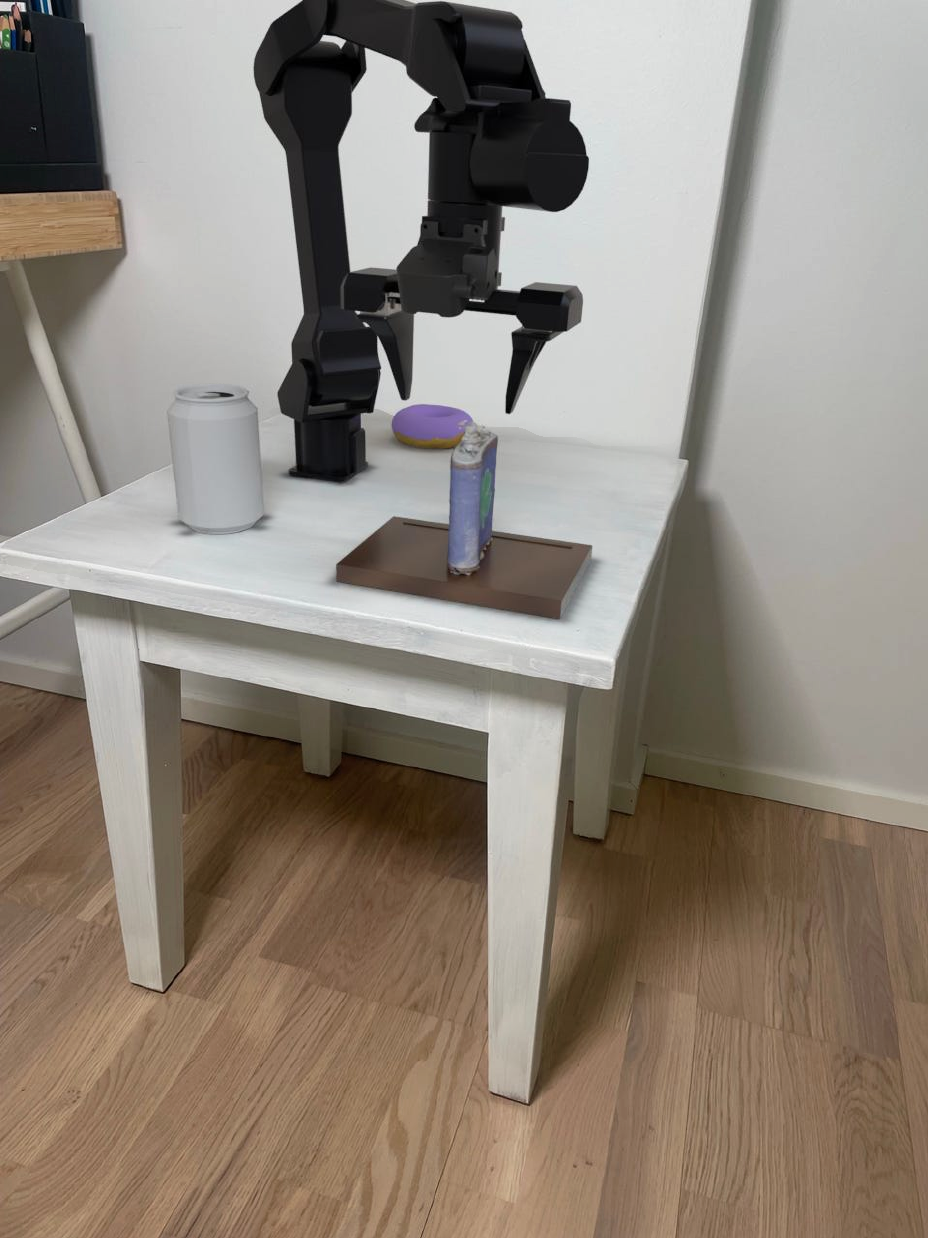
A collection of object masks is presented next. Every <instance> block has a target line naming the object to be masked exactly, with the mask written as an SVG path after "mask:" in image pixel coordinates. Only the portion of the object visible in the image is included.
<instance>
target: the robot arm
mask: <svg viewBox="0 0 928 1238" xmlns="http://www.w3.org/2000/svg"><path fill="white" fill-rule="evenodd" d="M523 25H524V24H523V22H522V20H521V19H520V18H519V16H518V15H516V14H515V13H513V12H512V11H506V10H500V9H495V8H488V7H482V6H476V5H469V4H463V3H456V2H450V1H444V0H436V1H422V2H412V1H409V0H300V1H299V2H298V3H296V5H294V6H293V7H291V8H290V9H289V10H287V11H285V12H284V13H283V14H282V15H280V16H279V17H277V18H275V20H273V21H272V22H271V23H270V25H269V26H268V28H267V30H266V33H265V35H264V37H263V39H262V41H261V43H260V44H259V47H258V49H257V51H256V53H255V56H254V58H253V79H254V83H255V86H256V89H257V91H258V94H259V99H260V104H261V109H262V115H263V118H264V121H265V123H266V124H267V126H268V127H269V129H270V130H271V132H272V133H273V134H274V137H276V138H277V140H278V142H279V144H280V145H281V147H282V148H283V150H284V152H285V159H286V166H287V175H288V176H287V177H288V184H289V193H290V194H289V195H290V202H291V211H292V212H291V213H292V220H293V227H294V229H293V230H294V236H295V246H296V253H297V262H298V263H297V264H298V271H299V279H300V289H301V297H302V299H301V300H302V306H303V315H302V316H301V320H300V322H299V324H298V326H297V328H296V331H295V333H294V336H293V338H292V340H291V344H290V345H291V346H290V347H291V364H290V366H289V368H288V371H287V372H286V374H285V377H284V378H283V380H282V383H281V385H280V386H279V388H278V390H277V394H276V396H277V401H278V405H279V410H280V413H281V414H282V415H283V416H286V417H287V418H290V419H293V429H294V430H293V431H294V433H293V434H294V449H295V465H294V466H292V467H290V468H289V469H288V475H290V476H297V477H303V478H312V479H319V480H324V481H325V480H326V481H334V482H341V483H343V482H347V481H348V480H349V479H351V478H353V477H355V476H356V475H357V474H360V472H362V471H363V470H365V469H366V468H367V467H369V462H368V461H367V458H366V457H367V455H366V453H367V452H366V451H367V448H366V445H367V444H366V429H365V428H364V427H362V415H363V414H373V413H374V412H375V411H374V410H375V405H376V401H377V395H378V391H379V387H380V382H381V381H380V380H381V370H382V364H381V361H380V356H379V350H378V349H379V348H378V341H380V344H381V346H382V348H383V351H384V353H385V356H386V357H387V361H388V364H389V367H390V370H391V373H392V377H393V380H394V382H395V385H396V388H397V391H398V394H399V397H400V400H401V401H405V402H406V401H408V400H410V397H411V393H412V384H413V374H414V373H413V372H414V371H413V369H414V330H415V328H414V327H415V315H416V314H417V313H424V314H434V315H438V316H439V317H441V318H455V317H458V316H461V315H462V314H463V313H464V312H465V311H467V312H476V313H486V314H494V315H506V316H514V317H516V319H517V320H518V322H519V323H520V324H521V326H520V327H518V328H516V329H514V330H513V331H511V333H510V335H511V346H512V348H511V349H512V352H511V358H510V365H509V371H508V377H507V378H508V379H507V383H506V384H507V385H506V391H505V402H504V403H505V405H504V407H505V409H504V412H505V414H506V415H511V414H512V413H513V412H514V410H515V408H516V407H517V403H518V401H519V399H520V397H521V395H522V392H523V390H524V387H525V386H526V383H527V380H528V378H529V376H530V374H531V371H532V370H533V367H534V365H535V363H536V361H537V359H538V357H539V356H540V354H541V352H542V350H543V349H544V347H545V345H546V343H547V342H551V341H553V340H554V339H555V338H557V337H558V336H560V335H561V334H563V333H565V332H569V331H570V330H571V329H573V328H575V327H577V325H579V324H580V323H582V316H583V308H584V307H583V306H584V295H583V293H582V291H581V290H580V289H579V287H578V285H571V284H560V283H551V282H538V281H535V282H533V283H530V284H528V285H525V286H523V287H520V290H511V289H510V290H509V289H499V288H498V287H501V286H502V274H503V273H502V272H501V271H499V269H500V257H501V256H500V255H501V237H502V232H505V227H506V226H505V224H506V217H505V216H503V207H506V208H515V209H522V210H523V209H524V210H530V211H531V210H532V211H539V212H549V213H558V212H562V211H565V210H566V209H567V208H569V207H570V206H572V205H573V204H574V203H575V202H576V200H577V199H578V198H579V196H580V195H581V194H582V191H583V190H584V188H585V184H586V182H587V178H588V174H589V168H590V157H589V156H588V155H587V147H586V142H585V140H584V137H583V135H582V133H581V131H580V130H579V128H578V127H577V126H576V125H575V123H573V122H572V121H571V112H572V102H571V100H570V99H563V98H562V99H559V98H551V97H546V95H547V94H546V92H545V90H544V88H543V86H542V83H541V80H540V78H539V75H538V71H537V70H536V66H535V64H534V61H533V58H532V55H531V52H530V50H529V47H528V44H527V42H526V40H525V37H524V33H523V31H522V30H523V28H524V26H523ZM324 36H329V37H336V38H339V39H341V40H344V41H345V42H344V43H343V45H342V46H341V47H340V45H339V44H337V43H335V42H333V41H326V40H322V38H324ZM366 49H367V50H370V51H372V52H374V53H378V54H380V55H382V56H384V57H388V58H391V59H393V60H395V61H398V62H400V63H401V64H402V65H404V66H405V73H406V75H407V77H408V78H409V79H410V80H411V81H412V82H414V83H415V84H416V85H417V86H419V87H420V88H421V89H422V90H423V91H425V93H427V94H429V95H430V96H431V97H433V98H432V100H431V102H430V105H429V106H428V107H427V108H426V110H425V111H423V112H422V113H421V114H420V115H419V116H418V117H417V119H416V121H415V122H414V125H413V126H414V130H415V132H416V133H424V134H425V133H426V134H427V133H428V134H429V136H428V137H429V138H428V141H429V142H428V175H427V177H428V178H427V210H426V211H427V213H426V215H422V216H421V223H420V226H419V227H420V229H419V238H418V241H417V244H416V245H415V246H413V247H411V248H410V250H409V251H408V252H407V253H406V255H405V256H404V257H403V258H402V260H401V261H400V262H399V264H397V266H396V269H394V268H393V269H392V268H382V267H371V266H370V267H366V268H362V269H357V270H353V271H351V264H350V263H351V262H350V253H349V242H348V232H347V223H346V213H345V204H344V203H345V202H344V192H343V181H342V172H341V161H340V150H339V149H340V148H339V147H340V143H341V141H342V138H343V136H344V134H345V131H346V129H347V127H348V124H349V123H350V120H351V118H352V115H353V92H354V91H355V89H356V87H357V86H358V85H359V83H360V82H361V80H362V78H363V77H364V76H365V74H366V73H367V69H368V68H367V67H368V66H367V56H366ZM357 312H359V313H357ZM365 324H366V325H368V326H366V325H365ZM378 339H379V340H378Z"/></svg>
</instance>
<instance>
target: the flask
mask: <svg viewBox="0 0 928 1238" xmlns="http://www.w3.org/2000/svg"><path fill="white" fill-rule="evenodd" d="M467 422H468V421H467V420H465V421H462V422H460V423H459V424H458V426H459V427H458V428H459V430H460V429H461V427H462V426H464V424H465V423H467ZM485 428H486V426H485V425H481V426H478V424H477V423H476V421H473V422H470V423H469V424H467V426H465V427H464V430H465V433H464V434H463V437H462V439H461V441H460V442H459V443H458V444H457V445H456V446H455V447H453V450H452V452H451V456H450V464H449V465H450V466H449V470H450V472H449V473H450V474H449V475H450V476H449V497H448V499H449V500H448V501H449V512H448V513H449V515H448V524H449V540H448V555H447V567H448V570H450V572H452V573H454V574H457V575H458V574H460V573H462V574H463V573H464V574H466V575H470V574H471V573H472V572H473V571H476V570H477V569H478V568H479V566H478V565H479V562H480V560H482V558H484V554H483V550H484V549H486V547H485V546H486V545H488V544H489V542H490V541H491V540H492V531H493V520H494V519H493V518H494V503H495V493H496V470H497V469H496V468H497V451H498V445H499V444H498V443H499V436H498V434H495V433H494V432H492V431H491V430H484V429H485ZM454 568H456V569H457V570H458V571H459V572H460V573H459V572H457V571H456V570H455V569H454Z"/></svg>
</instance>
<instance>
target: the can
mask: <svg viewBox="0 0 928 1238" xmlns="http://www.w3.org/2000/svg"><path fill="white" fill-rule="evenodd" d="M249 394H250V391H249V390H248V389H247V388H246V387H244V386H240V385H236V384H229V383H199V384H190V385H186V386H182V387H178V388H177V389H175V390H174V391H173V392H172V395H173V396H174V398H175V399H174V400H173V402H172V403H171V404H170V406H169V407H168V408H167V410H166V414H167V423H168V432H169V443H170V451H171V461H172V470H173V480H174V481H173V482H174V489H175V490H174V491H175V500H176V508H177V517H178V518H179V520H180V521H181V522H182V523H184V524H185V525H186V526H188V527H189V529H191V530H193V531H195V532H198V533H202V534H209V535H227V534H228V535H229V534H235V533H240V532H244V531H246V530H248V529H251V528H252V527H253V526H255V525H256V523H257V521H259V520H260V519H262V517H263V516H264V513H265V508H264V507H265V505H264V503H265V502H264V489H263V475H262V474H263V473H262V472H263V471H262V457H261V443H260V441H261V440H260V428H259V426H260V424H259V409H258V407H257V405H256V404H255V403H254V402H252V401H251V399H249V397H248V396H249Z"/></svg>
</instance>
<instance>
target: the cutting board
mask: <svg viewBox="0 0 928 1238" xmlns="http://www.w3.org/2000/svg"><path fill="white" fill-rule="evenodd" d="M448 540H449V523H442V522H437V521H436V522H435V521H428V520H423V519H422V520H421V519H415V518H409V517H401V516H395V515H394V516H392V517H391V518H390V519H389V520H387V521H386V522H384V523H383V524H382V525H381V526H380V527H379V528H378V529H377V530H375V531H374V532H373V533H371V534H370V535H369V536H368V537H367V538H366V539H365V540H363V541H362V542H360V544H359V545H357V546H356V547H355V548H353V550H351V551H350V552H349V553H348V554H347V555H345V556H344V557H342V559H341V560H339V561H338V562H337V563H336V564H335V573H336V575H335V576H336V582H338V583H343V584H349V585H350V584H352V585H356V586H361V587H367V588H368V587H369V588H374V589H379V590H385V591H390V592H391V591H392V592H398V593H402V594H410V595H415V596H421V597H426V598H433V599H439V600H445V601H451V602H456V603H457V602H458V603H461V604H462V603H463V604H469V605H474V606H480V607H487V608H491V609H498V610H503V611H509V612H514V613H515V612H516V613H522V614H526V615H534V616H538V617H544V618H550V619H556V620H560V619H561V618H562V616H563V614H564V612H565V610H566V608H567V607H568V605H569V603H570V601H571V599H572V597H573V595H574V593H575V592H576V590H577V588H578V586H579V584H580V582H581V580H582V578H583V577H584V575H585V573H586V571H587V569H588V567H589V565H590V563H591V562H592V554H593V545H592V544H587V543H579V542H573V541H567V540H566V541H565V540H559V539H551V538H545V537H539V536H531V535H526V534H517V533H511V532H503V531H499V530H498V531H497V530H492V540H491V541H490V542H489V544H488V545H486V546H485V547H486V549H484V550H483V554H484V558H482V560H480V562H479V565H478V566H479V568H478V569H477V570H476V571H473V572H472V573H471V574H470V575H466V574H464V573H463V574H462V573H460V572H459V571H458V570H457V569H456V568H454V569H455V570H456V571H457V572H459V573H460V574H458V575H457V574H454V573H452V572H450V570H448V567H447V555H448Z"/></svg>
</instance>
